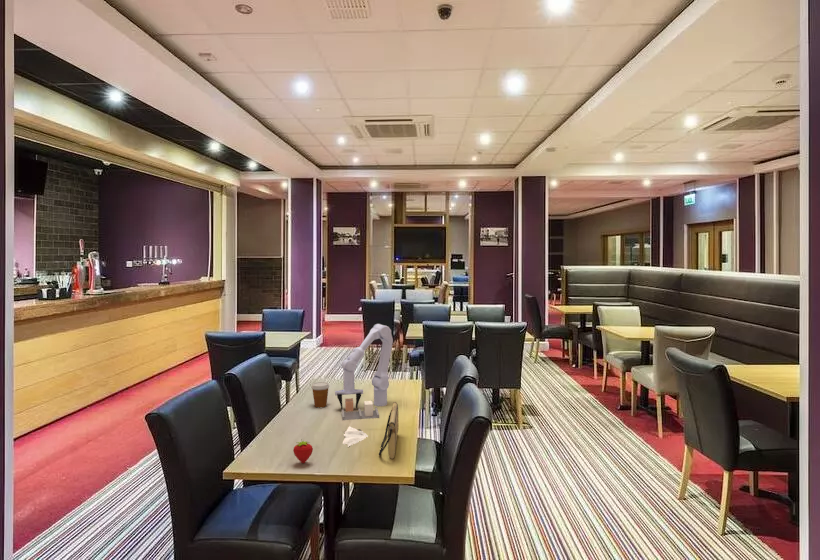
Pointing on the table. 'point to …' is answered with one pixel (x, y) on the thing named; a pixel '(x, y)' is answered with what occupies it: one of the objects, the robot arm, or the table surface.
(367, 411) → the white plug
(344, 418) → the slot rack
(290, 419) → the table surface
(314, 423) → the table surface
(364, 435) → the cloth
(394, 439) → the clutch purse
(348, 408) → the terracotta plug
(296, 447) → the strawberry
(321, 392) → the disposable coffee cup
